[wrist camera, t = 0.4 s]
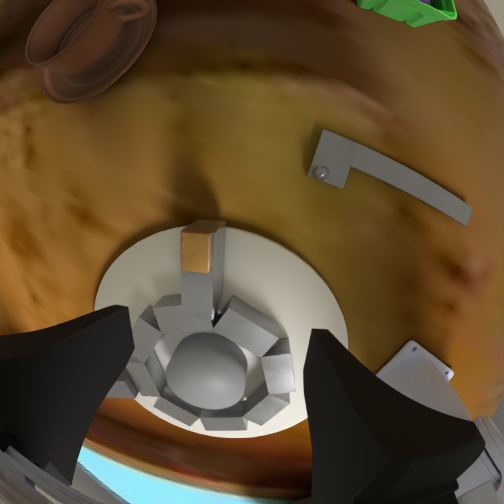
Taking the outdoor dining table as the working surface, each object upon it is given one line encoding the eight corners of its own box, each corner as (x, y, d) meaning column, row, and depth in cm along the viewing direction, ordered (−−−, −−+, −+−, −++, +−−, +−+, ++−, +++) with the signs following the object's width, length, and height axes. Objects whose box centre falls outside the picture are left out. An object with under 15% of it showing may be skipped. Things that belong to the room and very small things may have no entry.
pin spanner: (465, 206, 16) (481, 210, 14) (453, 242, 17) (468, 249, 15) (320, 131, 16) (327, 125, 14) (305, 175, 17) (310, 175, 15)
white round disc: (397, 327, 19) (415, 353, 16) (248, 452, 25) (246, 477, 22) (162, 163, 17) (136, 162, 14) (79, 356, 23) (61, 376, 19)
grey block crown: (361, 314, 18) (378, 345, 14) (235, 430, 23) (230, 461, 19) (205, 207, 17) (186, 217, 13) (118, 365, 21) (98, 391, 17)
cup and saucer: (152, -25, 12) (125, -59, 6) (180, 60, 15) (146, 23, 9) (50, 41, 14) (12, 25, 8) (60, 132, 17) (9, 129, 11)
